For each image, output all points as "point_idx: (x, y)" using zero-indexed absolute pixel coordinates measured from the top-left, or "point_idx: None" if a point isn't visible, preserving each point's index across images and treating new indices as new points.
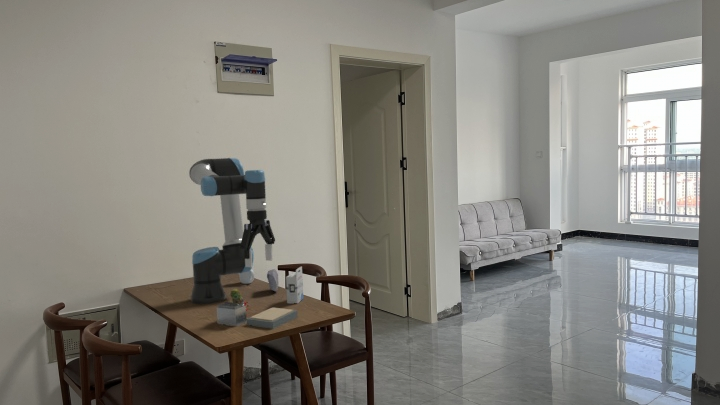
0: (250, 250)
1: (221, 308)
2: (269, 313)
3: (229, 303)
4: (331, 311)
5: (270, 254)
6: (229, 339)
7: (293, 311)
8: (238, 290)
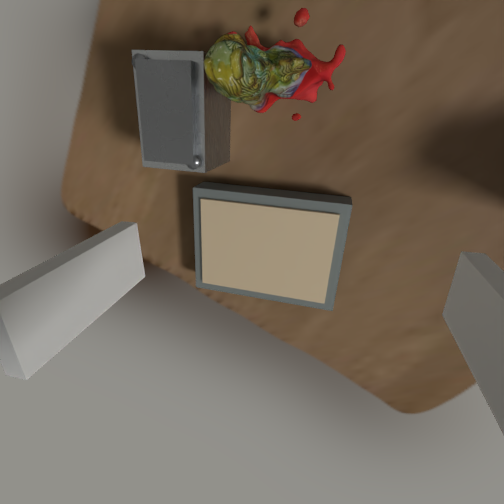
0: (9, 374)
1: (135, 84)
2: (260, 242)
3: (173, 95)
4: (426, 370)
5: (469, 352)
6: (102, 197)
7: (316, 303)
8: (244, 81)
